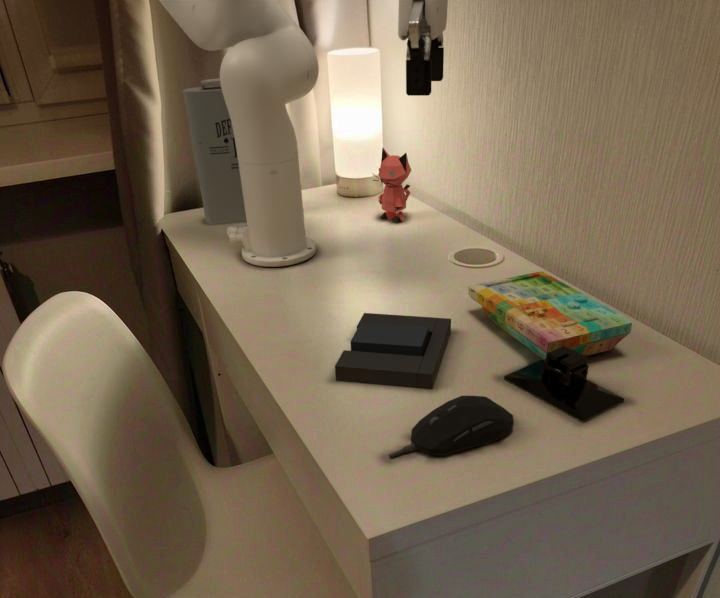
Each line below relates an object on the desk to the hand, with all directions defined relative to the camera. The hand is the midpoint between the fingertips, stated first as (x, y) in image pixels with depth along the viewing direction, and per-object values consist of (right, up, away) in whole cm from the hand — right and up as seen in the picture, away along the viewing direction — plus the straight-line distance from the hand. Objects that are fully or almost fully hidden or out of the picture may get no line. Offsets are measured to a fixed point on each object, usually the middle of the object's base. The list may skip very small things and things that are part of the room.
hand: (425, 87), depth 97 cm
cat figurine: (-2, -4, +38) cm, 38 cm away
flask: (-30, -2, +43) cm, 52 cm away
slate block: (-5, -37, -4) cm, 37 cm away
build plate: (+15, -42, -12) cm, 46 cm away
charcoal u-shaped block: (-4, -37, -4) cm, 37 cm away
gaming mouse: (+1, -48, -19) cm, 52 cm away
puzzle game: (+16, -33, -1) cm, 36 cm away
